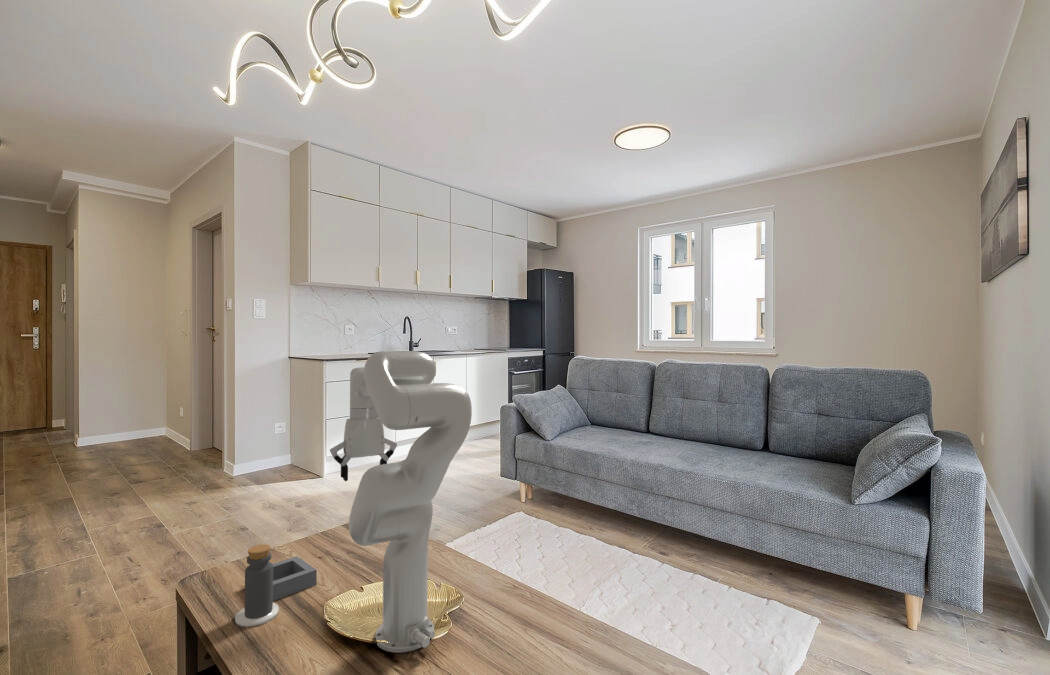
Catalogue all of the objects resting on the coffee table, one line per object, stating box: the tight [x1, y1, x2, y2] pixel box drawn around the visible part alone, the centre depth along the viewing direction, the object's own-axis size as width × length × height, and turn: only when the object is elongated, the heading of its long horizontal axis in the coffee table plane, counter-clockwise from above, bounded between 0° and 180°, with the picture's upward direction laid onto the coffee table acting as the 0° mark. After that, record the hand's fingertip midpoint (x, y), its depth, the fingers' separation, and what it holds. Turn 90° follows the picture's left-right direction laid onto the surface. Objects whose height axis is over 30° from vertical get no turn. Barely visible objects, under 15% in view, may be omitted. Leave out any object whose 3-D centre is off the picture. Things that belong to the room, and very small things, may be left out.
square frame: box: [272, 555, 318, 602], centre depth 130 cm, size 12×12×4 cm
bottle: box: [244, 544, 274, 619], centre depth 115 cm, size 6×6×15 cm
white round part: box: [234, 602, 280, 628], centre depth 115 cm, size 9×9×1 cm
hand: (364, 477), depth 132 cm, fingers open, 9 cm apart
